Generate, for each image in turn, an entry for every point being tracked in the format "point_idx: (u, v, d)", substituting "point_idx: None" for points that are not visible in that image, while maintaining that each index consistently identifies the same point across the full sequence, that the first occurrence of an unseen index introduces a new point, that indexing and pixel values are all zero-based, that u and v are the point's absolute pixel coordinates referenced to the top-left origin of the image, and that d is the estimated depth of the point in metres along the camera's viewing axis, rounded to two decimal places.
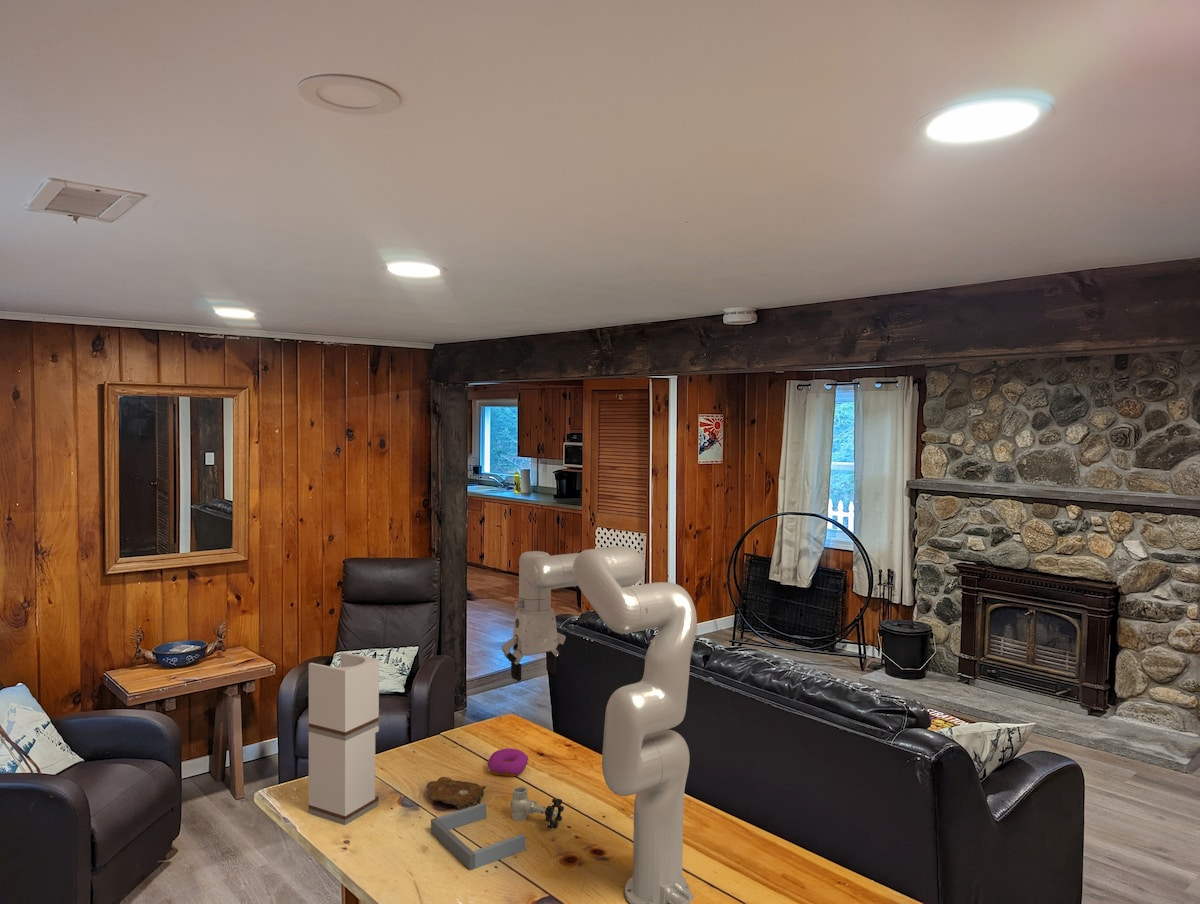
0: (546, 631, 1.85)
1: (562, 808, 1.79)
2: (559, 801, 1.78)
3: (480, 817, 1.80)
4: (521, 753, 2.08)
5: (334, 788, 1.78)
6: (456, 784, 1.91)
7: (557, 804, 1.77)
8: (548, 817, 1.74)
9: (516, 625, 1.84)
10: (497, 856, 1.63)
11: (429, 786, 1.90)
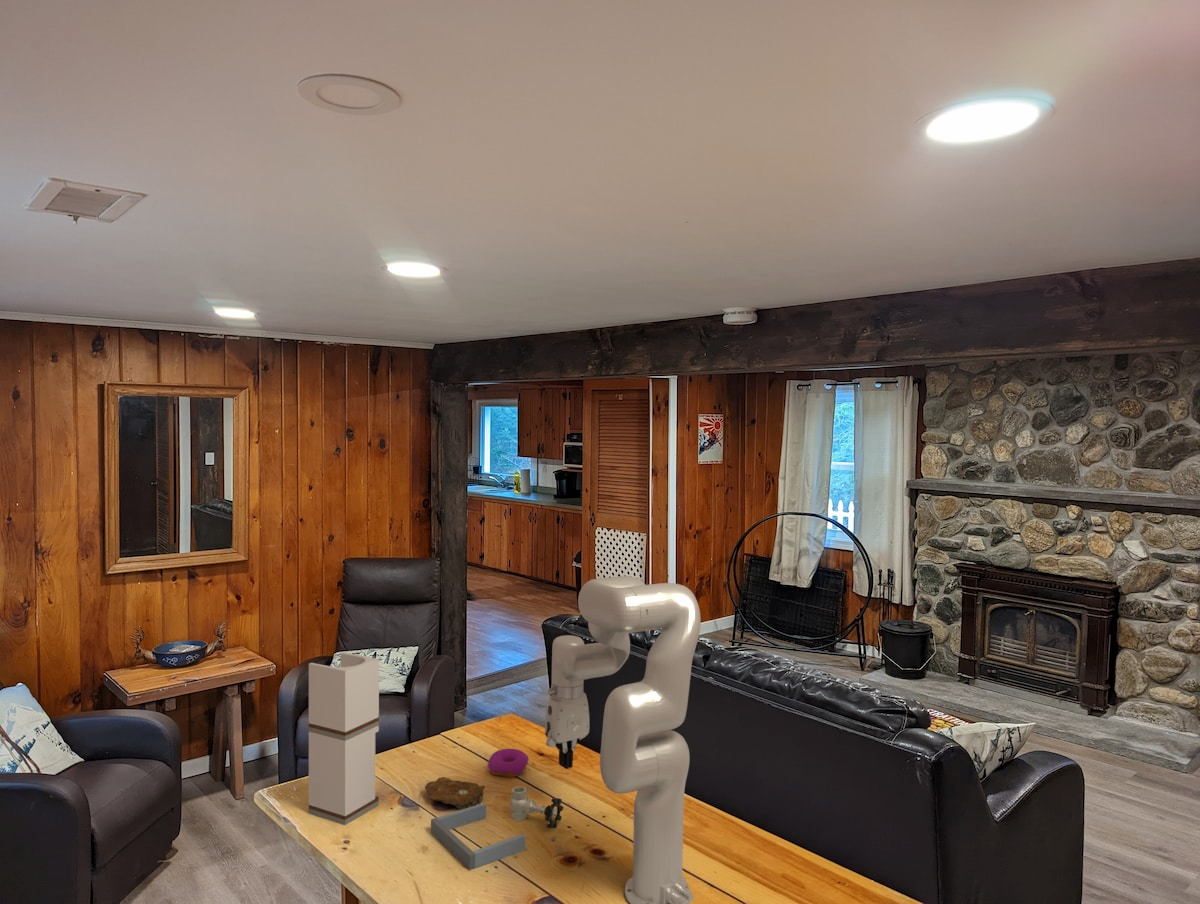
0: (578, 718, 1.83)
1: (561, 807, 1.79)
2: (558, 801, 1.78)
3: (480, 817, 1.80)
4: (521, 753, 2.08)
5: (334, 788, 1.78)
6: (455, 784, 1.91)
7: (556, 804, 1.77)
8: (548, 817, 1.74)
9: (549, 712, 1.83)
10: (497, 856, 1.63)
11: (428, 786, 1.90)
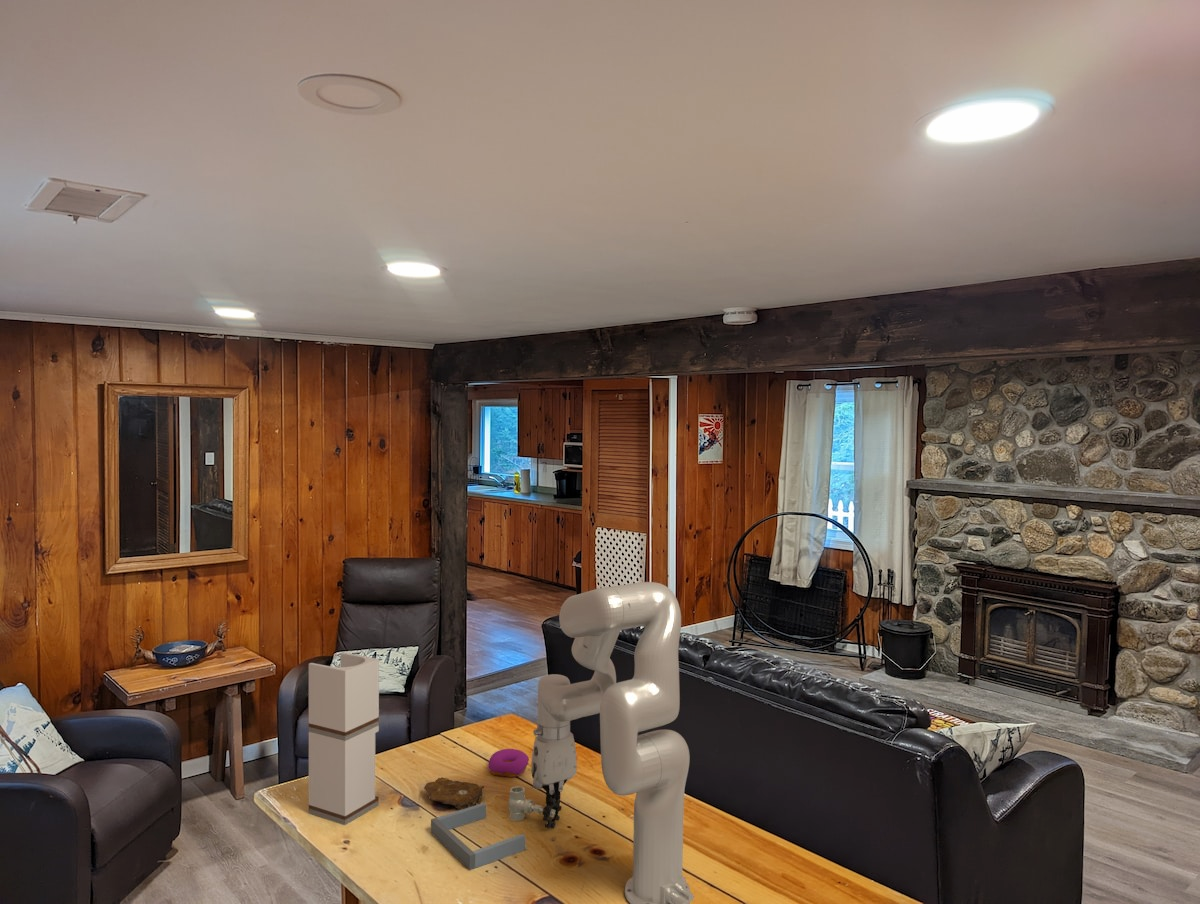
0: (565, 758, 1.81)
1: (559, 807, 1.79)
2: (557, 800, 1.78)
3: (480, 817, 1.80)
4: (522, 753, 2.08)
5: (334, 788, 1.78)
6: (455, 784, 1.91)
7: (555, 803, 1.77)
8: (546, 817, 1.74)
9: (535, 753, 1.80)
10: (497, 856, 1.63)
11: (428, 787, 1.90)
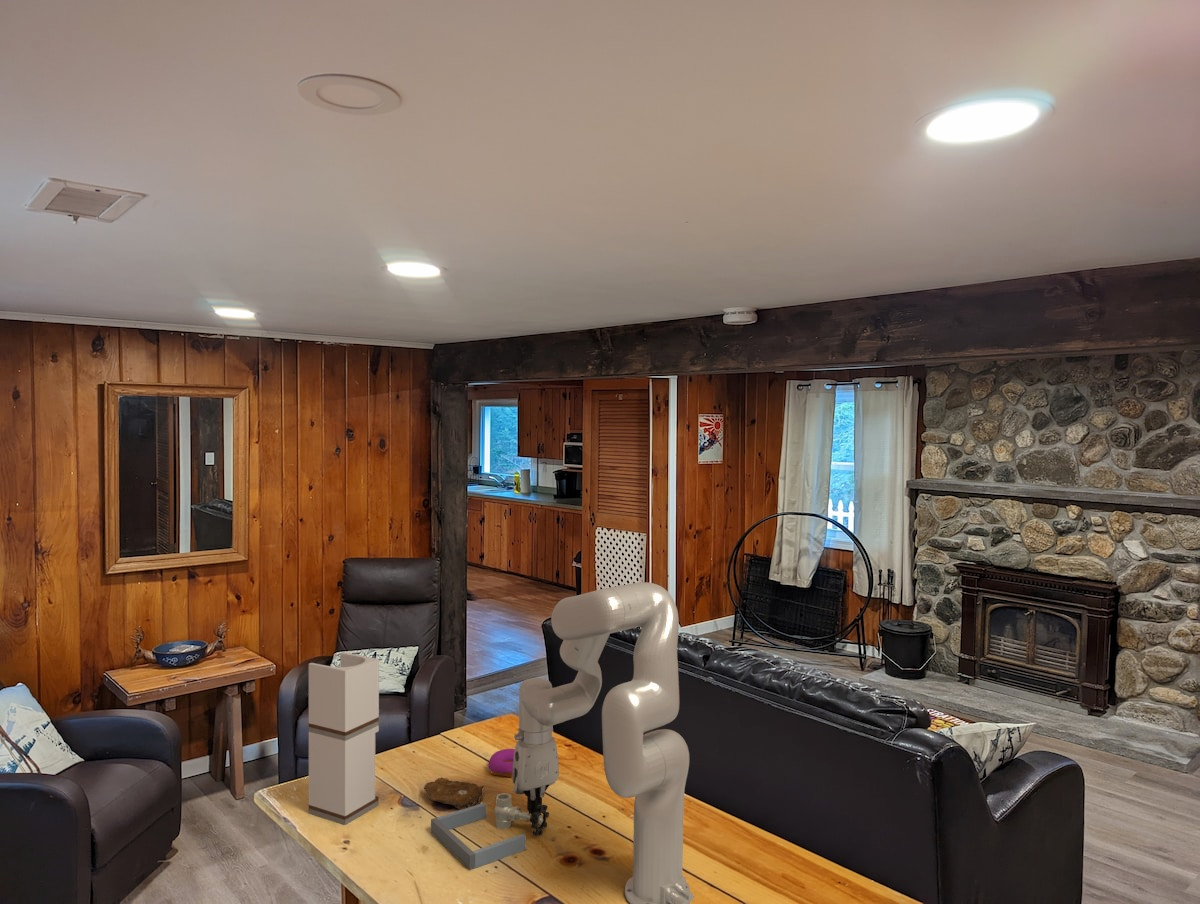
0: (547, 763, 1.78)
1: (547, 814, 1.76)
2: (544, 807, 1.75)
3: (480, 817, 1.80)
4: None
5: (334, 788, 1.78)
6: (454, 784, 1.91)
7: (542, 810, 1.74)
8: (534, 824, 1.71)
9: (516, 758, 1.77)
10: (497, 856, 1.63)
11: (427, 787, 1.90)
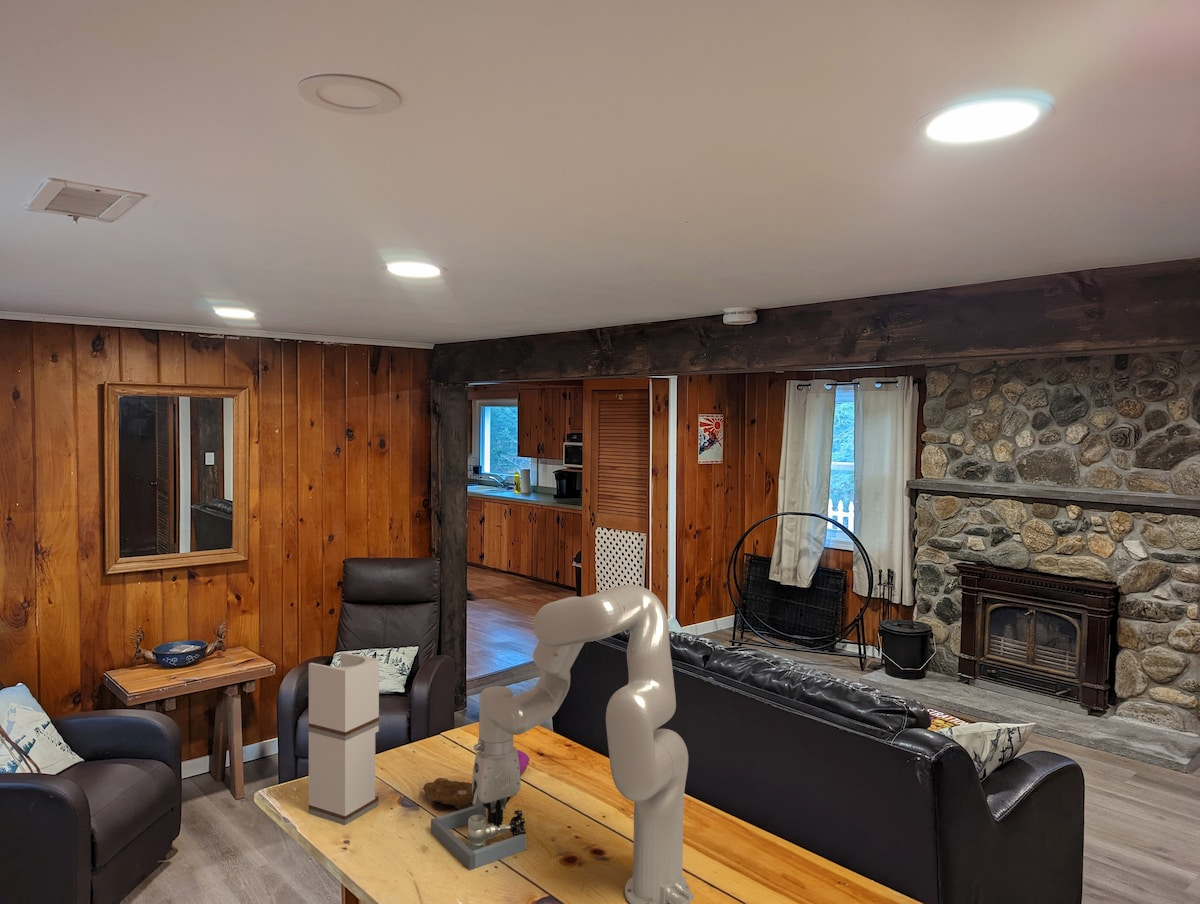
0: (507, 775, 1.72)
1: None
2: None
3: None
4: (522, 754, 2.07)
5: (334, 788, 1.78)
6: (454, 784, 1.91)
7: None
8: (524, 830, 1.69)
9: (475, 769, 1.71)
10: (497, 856, 1.63)
11: (426, 787, 1.90)
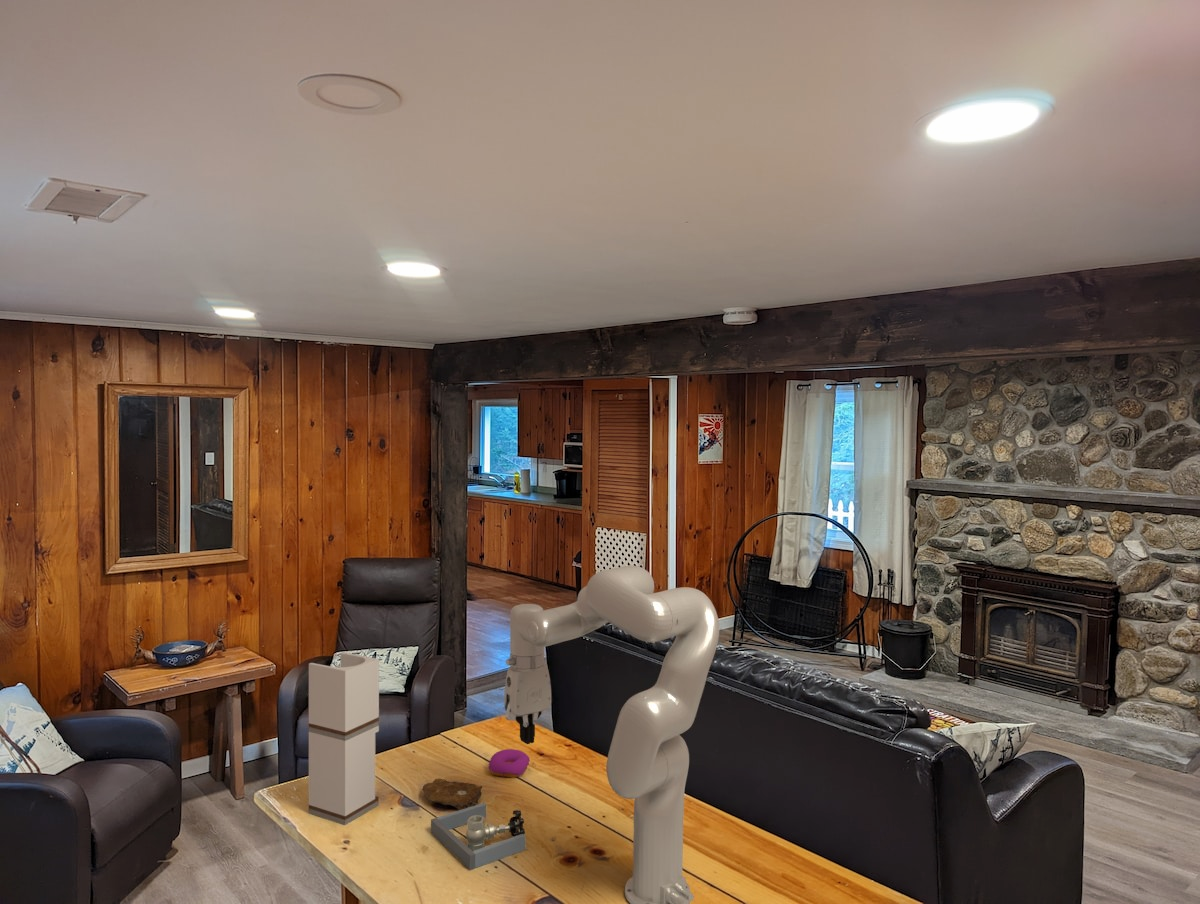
0: (539, 689, 1.75)
1: None
2: None
3: None
4: (522, 754, 2.07)
5: (334, 788, 1.78)
6: (453, 785, 1.90)
7: None
8: (523, 830, 1.69)
9: (508, 683, 1.74)
10: (497, 856, 1.63)
11: (426, 788, 1.89)
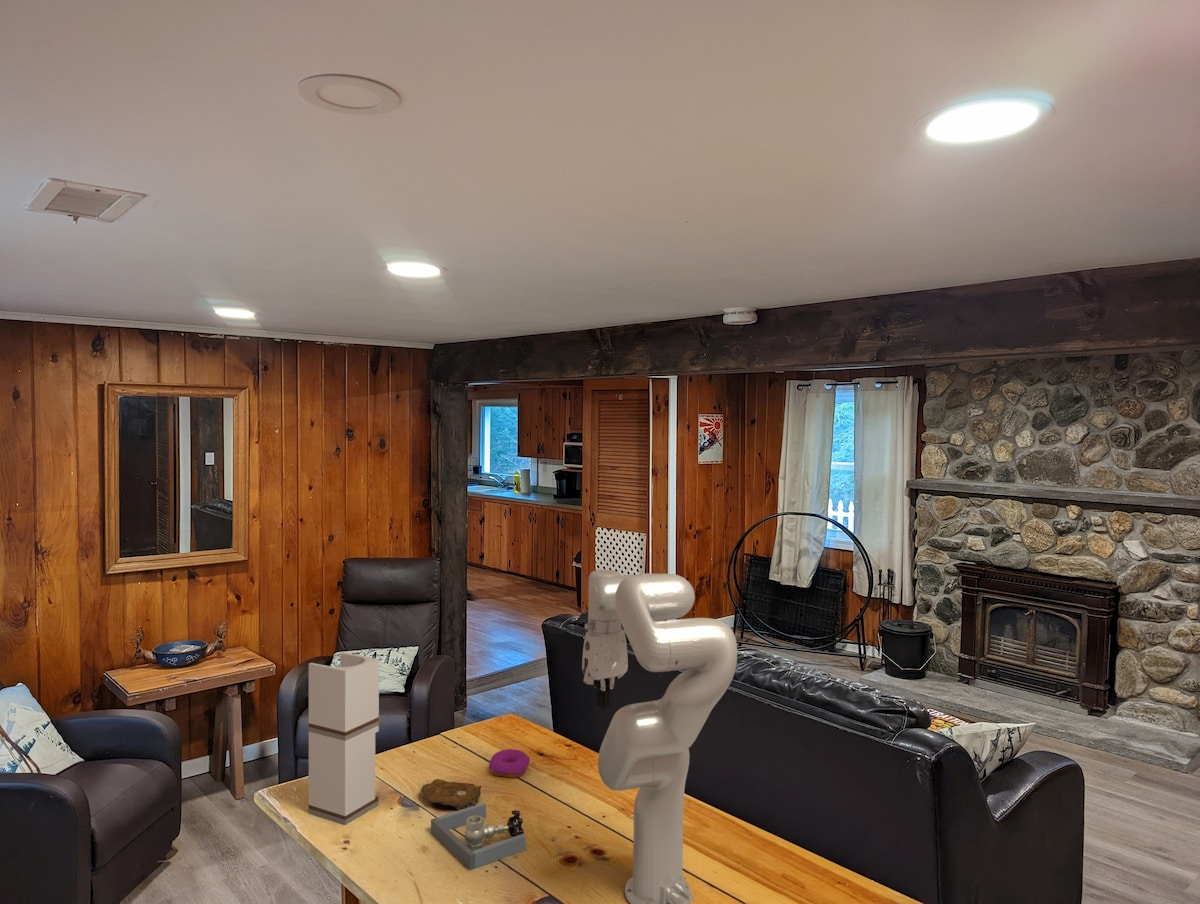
0: (617, 654, 1.76)
1: None
2: None
3: None
4: (522, 754, 2.07)
5: (334, 788, 1.78)
6: (452, 785, 1.90)
7: None
8: (522, 830, 1.69)
9: (586, 648, 1.76)
10: (497, 856, 1.63)
11: (425, 789, 1.89)
